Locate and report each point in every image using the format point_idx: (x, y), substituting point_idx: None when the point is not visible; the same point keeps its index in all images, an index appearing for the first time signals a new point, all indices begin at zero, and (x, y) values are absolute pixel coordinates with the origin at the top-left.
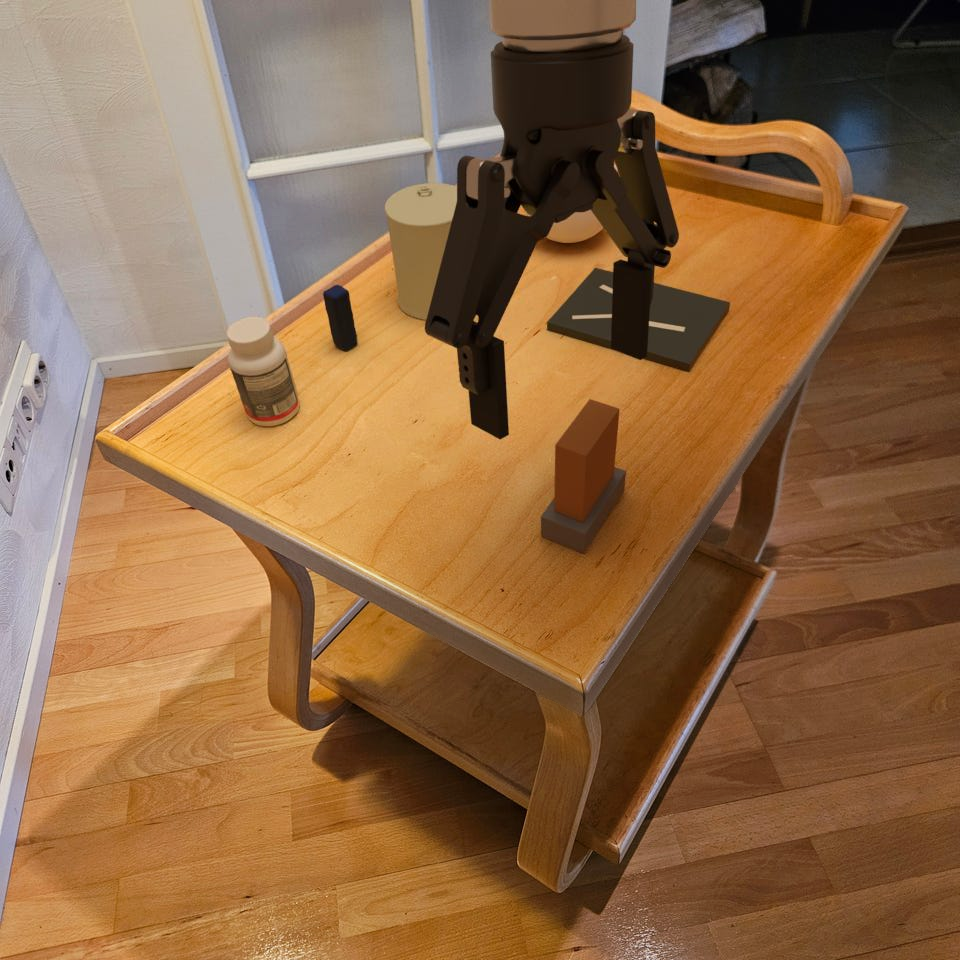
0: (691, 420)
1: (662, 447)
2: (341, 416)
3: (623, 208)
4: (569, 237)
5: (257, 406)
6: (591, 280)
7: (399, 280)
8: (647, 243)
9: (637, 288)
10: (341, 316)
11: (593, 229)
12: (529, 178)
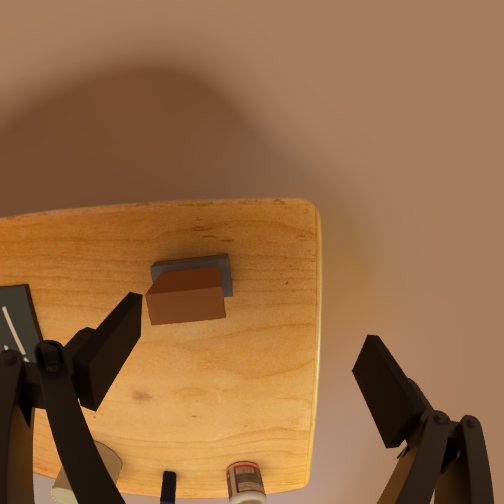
0: (64, 256)
1: (99, 261)
2: (221, 447)
3: (99, 495)
4: None
5: (260, 476)
6: None
7: (116, 482)
8: (60, 394)
9: (102, 356)
10: (171, 491)
11: None
12: None
